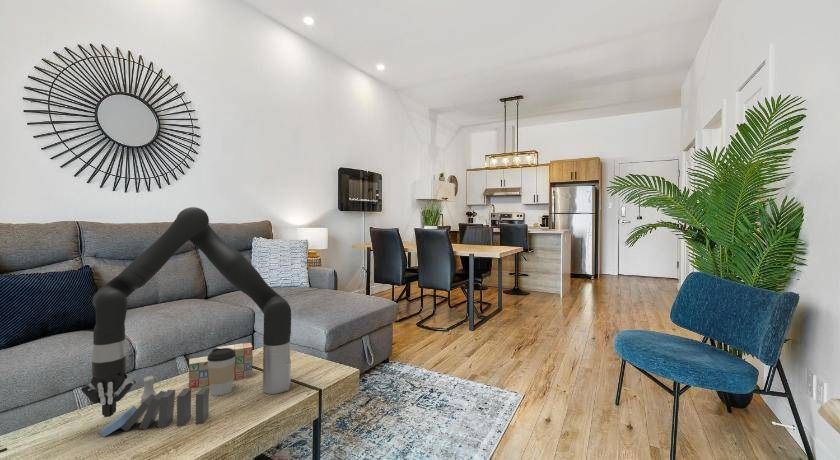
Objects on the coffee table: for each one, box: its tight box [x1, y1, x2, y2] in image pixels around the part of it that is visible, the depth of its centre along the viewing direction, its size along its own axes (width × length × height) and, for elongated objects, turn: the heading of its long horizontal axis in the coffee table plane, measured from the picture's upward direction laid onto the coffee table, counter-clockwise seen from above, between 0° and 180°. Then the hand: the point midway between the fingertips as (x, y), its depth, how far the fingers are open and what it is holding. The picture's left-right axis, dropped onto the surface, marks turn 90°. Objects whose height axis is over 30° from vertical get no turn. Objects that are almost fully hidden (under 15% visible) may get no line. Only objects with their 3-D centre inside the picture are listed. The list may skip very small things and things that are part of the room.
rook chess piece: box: [140, 375, 158, 404], centre depth 122 cm, size 4×4×8 cm
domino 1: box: [120, 394, 155, 432], centre depth 106 cm, size 2×5×9 cm
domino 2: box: [138, 390, 166, 430], centre depth 107 cm, size 2×5×9 cm, turn 13°
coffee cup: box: [207, 347, 236, 397], centre depth 129 cm, size 9×9×15 cm
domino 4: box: [176, 387, 192, 427], centre depth 109 cm, size 2×5×9 cm, turn 14°
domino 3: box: [157, 389, 176, 429], centre depth 108 cm, size 2×5×9 cm, turn 14°
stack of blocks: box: [188, 342, 254, 389], centre depth 139 cm, size 21×6×12 cm, turn 121°
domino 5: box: [195, 386, 210, 425], centre depth 110 cm, size 2×5×9 cm, turn 14°
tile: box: [99, 405, 138, 438], centre depth 105 cm, size 2×5×9 cm
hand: (109, 415), depth 104 cm, fingers closed
